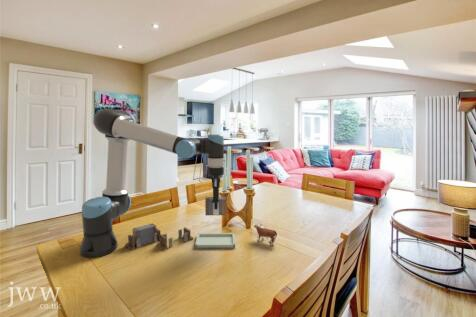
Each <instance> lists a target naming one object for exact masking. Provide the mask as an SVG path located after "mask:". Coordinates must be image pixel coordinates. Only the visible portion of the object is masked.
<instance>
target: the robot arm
mask: <svg viewBox="0 0 476 317" xmlns="http://www.w3.org/2000/svg"><path fill="white" fill-rule="evenodd" d="M93 126H94V127H95V129H96V130H97V131H98V132H99V133H100V134H103V135H104V138H105V139H107V142H108V145H107V161H106V162H107V165H106V181H105V182H106V184H105V188H104V190H102V195H101V196H97V197H95V198H89V199H88V200H86V201H84V202H83V204H82V206H81V218H82V229H83V230H82V231H83V237H82V241H81V244H80V247H79V253H80V256H81V257H83V258H89V259H91V258H92V259H93V258H100V257H103V256H106V255H109V254H111V253H113V252H114V251H116V250H117V248H118V246H119V245H118V240H117V238H116V235H115V233H114V231H113V221H115V220H116V219H118V218H119V217H121V216H123V215H124V214H126V213H127V212H128V211H129V209H130V208H131V206H132V199H131V196H130V195H129V191H128V189H127V188H126V179H127V178H126V177H127V176H126V175H127V161H128V160H127V159H128V158H127V157H128V144H129V141H134V142H138V143H140V144H143V145H146V146H150V147H154V148H157V149H159V150H163V151H166V152H169V153H172V154H175V155H177V156H178V157H180V158H181V159H191V157H193V156H197V155H207V166H208V168H207V174H208V176H211V177H212V178H211V185H212V186H211V187H212V197H213V201H212V203H213V215H212V216H220V215H219V201H218V197H220V193H219V192H220V185H221V184H220V183H221V178H220V177H219V176H221V177H222V176H223V175H224V174H225V172H224V171H225V167H224V165H225V163H224V162H226V159H224V158H225V157H224V156H225V155H224V154H225V153H224V152H225V143H224V142H225V140H224V135H223V134H222V133H221V134H217V133H216V134H215V133H214V134H213V133H212V134H208V135H207V138H206V137H205V138H198V137H197V138H195V137H188V138H184V137H182V136H178V135H176V134H172V133H170V132H166V131H162V130H159V129H157V128H156V129H155V128H153V127H149V126H146V125H144V124H140V123H137V122H136V118H135V117H134V116H133V114H132V113H131V112H128V111H125V110H122V109H112V108H103V109H100V110H99V111H98V112H97V113H95V115H94V117H93Z"/></svg>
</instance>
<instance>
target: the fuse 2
mask: <svg viewBox="0 0 476 317" xmlns="http://www.w3.org/2000/svg"><path fill="white" fill-rule="evenodd" d="M212 201H213V196H206V197H205V199H204V203H205V206H204V208H205V216H213V203H212ZM218 201H219V215H218V216H227V196H219V197H218Z"/></svg>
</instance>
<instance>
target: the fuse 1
mask: <svg viewBox="0 0 476 317" xmlns="http://www.w3.org/2000/svg"><path fill="white" fill-rule="evenodd" d="M156 228H157V226H156V224H154V223H153V222H152V223H149V224H143V225H142V226H141V225H140V226H137V227H133V228H132V235H133V238H134V246H135V248H137V241H136V239H137V238H140V243H141V246H145V245H148V244H151V243H154V234H155V233H156Z"/></svg>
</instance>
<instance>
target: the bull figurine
mask: <svg viewBox="0 0 476 317" xmlns="http://www.w3.org/2000/svg"><path fill="white" fill-rule="evenodd" d="M262 225H263V224H260V223H258V222H257V223H256V224H255V225H253V227H254V229H255V230H256V232H257V235H258V238H257V240H256V241H257V242H260V241H264V240H265V238H266V240H268V239H269V238H270V240H269V243H270V246H274V243H275V241H276V238H277V236H278V233H277V231H276V230H275V229H274V230H273V229H270V228H266V227H264V226H262Z"/></svg>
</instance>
